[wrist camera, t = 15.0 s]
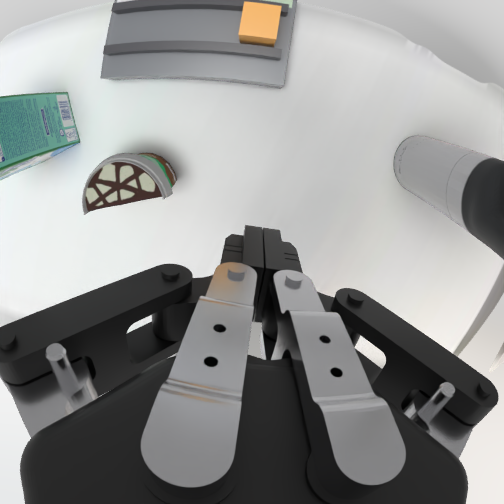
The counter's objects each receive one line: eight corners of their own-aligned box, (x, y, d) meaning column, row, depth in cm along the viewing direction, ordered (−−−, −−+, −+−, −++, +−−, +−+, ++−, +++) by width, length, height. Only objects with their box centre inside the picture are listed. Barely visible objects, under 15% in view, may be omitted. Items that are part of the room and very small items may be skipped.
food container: (179, 136, 38) (157, 145, 29) (186, 178, 41) (168, 198, 32) (103, 155, 39) (68, 169, 30) (112, 192, 41) (81, 215, 32)
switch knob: (278, 17, 27) (281, 6, 23) (273, 47, 29) (276, 39, 25) (245, 13, 26) (244, 1, 22) (240, 43, 28) (238, 34, 24)
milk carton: (42, 162, 38) (-69, 218, 16) (30, 115, 34) (-86, 147, 12) (80, 142, 37) (-43, 191, 15) (67, 91, 33) (-60, 106, 11)
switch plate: (294, 1, 28) (300, -14, 23) (280, 88, 35) (285, 84, 29) (128, -3, 27) (111, -15, 22) (113, 79, 33) (93, 77, 28)
